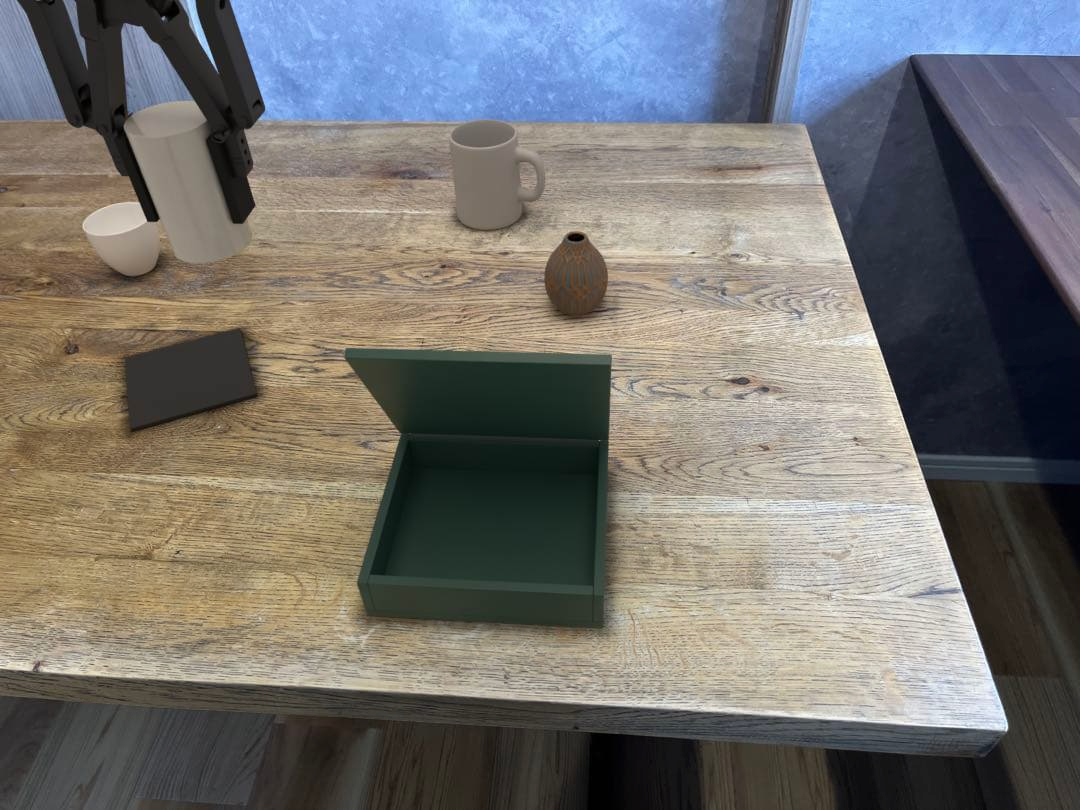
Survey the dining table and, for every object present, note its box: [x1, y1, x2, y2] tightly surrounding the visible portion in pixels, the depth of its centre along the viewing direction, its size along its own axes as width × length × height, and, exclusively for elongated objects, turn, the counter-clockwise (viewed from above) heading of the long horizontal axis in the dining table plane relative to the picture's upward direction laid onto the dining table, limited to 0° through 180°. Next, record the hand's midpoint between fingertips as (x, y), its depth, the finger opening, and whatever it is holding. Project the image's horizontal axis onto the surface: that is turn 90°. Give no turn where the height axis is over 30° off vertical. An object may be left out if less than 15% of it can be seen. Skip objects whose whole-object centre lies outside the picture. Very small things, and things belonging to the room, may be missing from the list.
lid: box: [343, 347, 613, 441], centre depth 62 cm, size 16×18×1 cm
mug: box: [448, 119, 546, 231], centre depth 103 cm, size 12×8×11 cm
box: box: [356, 433, 610, 629], centre depth 66 cm, size 16×18×4 cm
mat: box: [124, 327, 258, 432], centre depth 84 cm, size 12×12×1 cm
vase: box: [543, 230, 609, 317], centre depth 88 cm, size 7×7×9 cm
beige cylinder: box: [124, 100, 253, 265], centre depth 60 cm, size 6×6×10 cm
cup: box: [81, 201, 161, 277], centre depth 99 cm, size 8×10×7 cm
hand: (201, 213), depth 62 cm, fingers closed on beige cylinder, 6 cm apart
